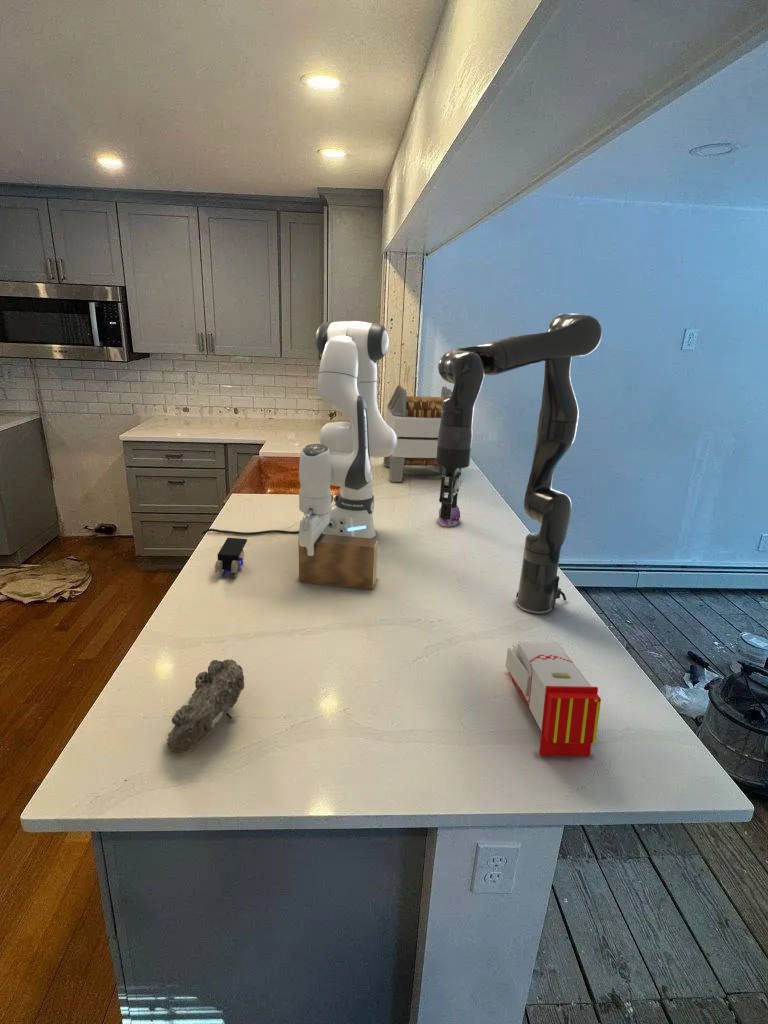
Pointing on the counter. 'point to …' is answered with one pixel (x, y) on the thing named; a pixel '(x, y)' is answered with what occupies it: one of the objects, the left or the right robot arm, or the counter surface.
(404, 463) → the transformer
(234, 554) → the figurine character
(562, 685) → the toy
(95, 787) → the counter surface
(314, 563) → the box
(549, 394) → the right robot arm
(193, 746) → the fossil
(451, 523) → the figurine
